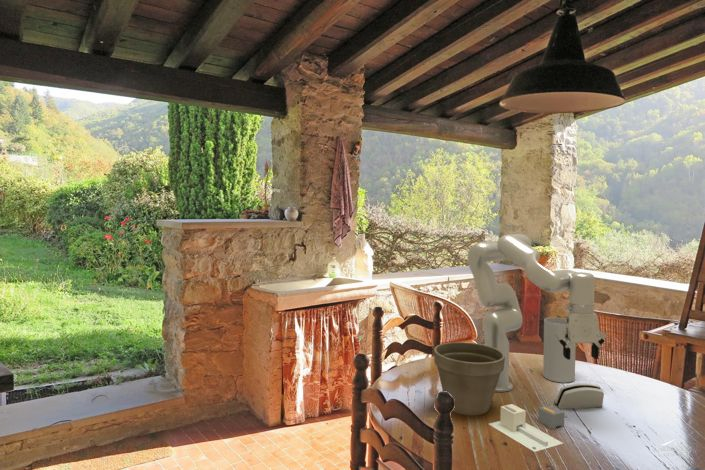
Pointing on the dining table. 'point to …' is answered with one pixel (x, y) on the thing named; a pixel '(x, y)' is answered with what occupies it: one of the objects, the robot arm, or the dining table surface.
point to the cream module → (512, 417)
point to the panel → (528, 436)
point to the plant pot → (469, 374)
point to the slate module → (551, 417)
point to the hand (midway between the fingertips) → (580, 358)
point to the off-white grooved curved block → (580, 396)
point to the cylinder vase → (557, 353)
